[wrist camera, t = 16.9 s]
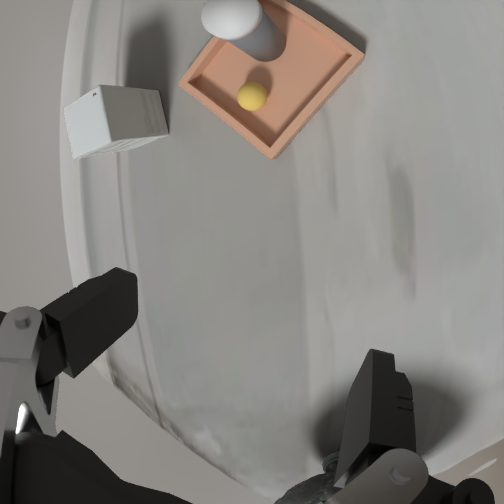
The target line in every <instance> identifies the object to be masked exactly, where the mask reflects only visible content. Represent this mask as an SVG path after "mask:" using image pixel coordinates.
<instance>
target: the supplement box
mask: <svg viewBox="0 0 504 504" xmlns="http://www.w3.org/2000/svg"><path fill="white" fill-rule="evenodd" d="M63 111H64V116H65V121H66V127H67V132H68V137H69V142H70V147H71V151H72V156H73V159H79V158H84V157H89V156H94V155H99V154H105V153H111V152H117V151H125V150H131V149H134V148H136V147H139V146H141V145H144V144H146V143H149V142H151V141H154V140H157V139H160V138H162V137H165V136H168V135H169V133H168V129H167V124H166V120H165V116H164V112H163V107H162V103H161V98H160V94H159V91H158V90H150V89H141V88H132V87H121V86H110V85H99V86H97V87H96V88H94V89H93V90H91V91H90V92H88V93H86V94H85V95H83V96H82V97H80V98H79V99H77V100H76V101H74V102H73V103H71V104H70V105H68V106H67V107H65V108H64V109H63Z"/></svg>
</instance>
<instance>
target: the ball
mask: <svg viewBox="0 0 504 504" xmlns="http://www.w3.org/2000/svg"><path fill="white" fill-rule="evenodd" d="M237 100H238V103H239V104H240V106H241V107H243V108H244V109H246V110H249V111H255V110H258V109H260V108H262V107H263V106H264V105H265V103H266V101H267V91H266V89H265V88H264V87H263V86H262V85H261V84H259V83H256V82H248V83H245V84H244V85H242V86H241V87H240V88H239V90H238V92H237Z"/></svg>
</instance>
